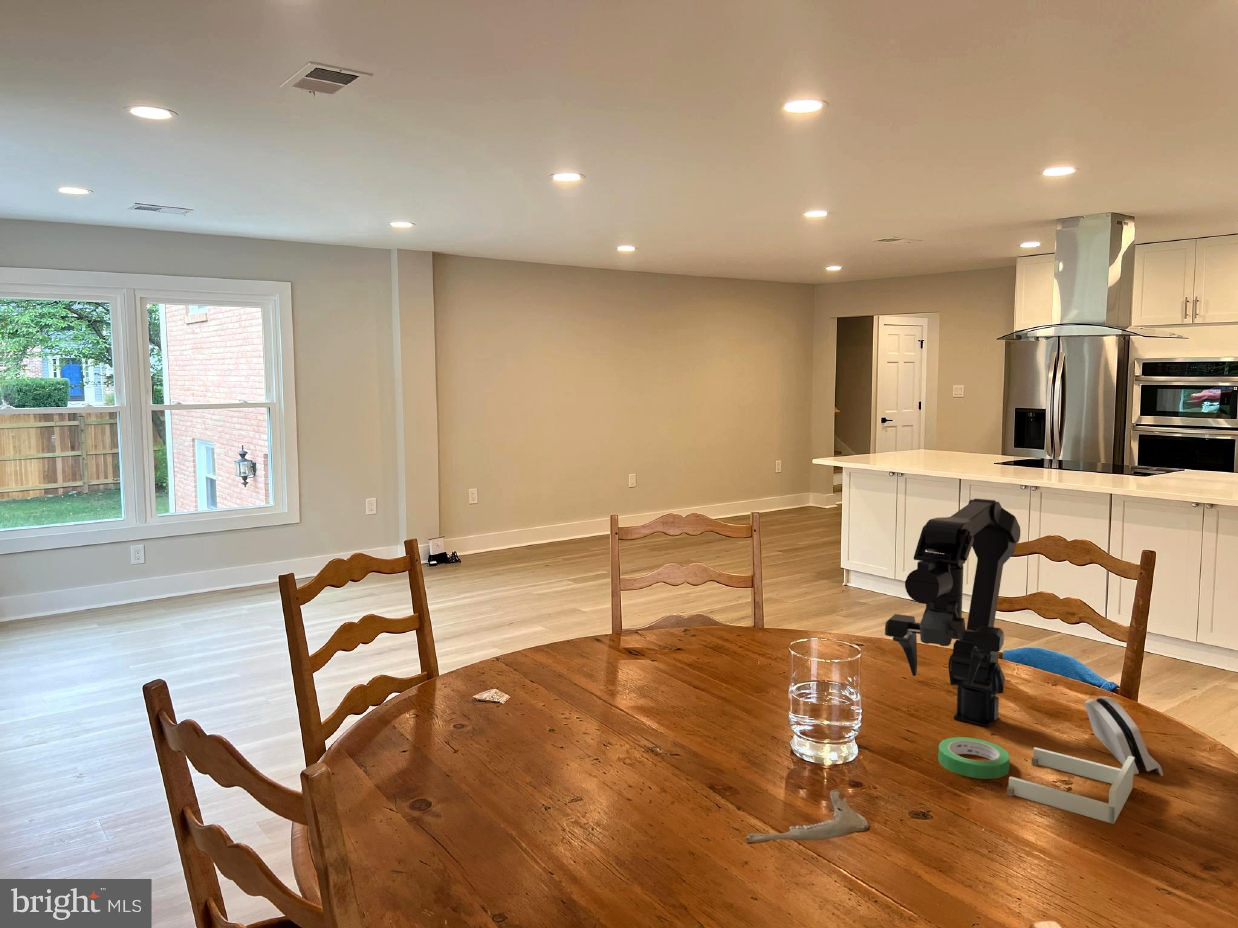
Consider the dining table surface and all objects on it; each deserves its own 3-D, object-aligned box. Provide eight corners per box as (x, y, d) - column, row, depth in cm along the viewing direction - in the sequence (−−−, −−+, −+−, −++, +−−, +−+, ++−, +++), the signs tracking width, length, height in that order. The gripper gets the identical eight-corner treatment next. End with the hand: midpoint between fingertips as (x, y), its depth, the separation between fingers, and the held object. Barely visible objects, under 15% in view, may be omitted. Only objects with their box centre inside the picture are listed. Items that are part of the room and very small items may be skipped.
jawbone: (883, 826, 126) (885, 813, 126) (791, 877, 114) (792, 863, 113) (834, 798, 133) (835, 786, 133) (742, 844, 121) (743, 831, 120)
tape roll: (1005, 756, 148) (1006, 741, 147) (1012, 784, 137) (1013, 768, 137) (937, 747, 151) (937, 733, 151) (939, 774, 141) (939, 759, 141)
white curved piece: (1164, 776, 139) (1145, 719, 139) (1134, 783, 140) (1115, 727, 139) (1123, 734, 155) (1105, 683, 155) (1096, 741, 156) (1078, 690, 156)
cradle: (1006, 795, 133) (1007, 764, 133) (1035, 759, 145) (1036, 731, 145) (1112, 826, 124) (1114, 793, 123) (1133, 785, 136) (1135, 755, 135)
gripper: (877, 595, 145) (875, 684, 147) (996, 610, 135) (992, 705, 137) (894, 582, 155) (891, 666, 156) (1005, 595, 145) (1002, 684, 146)
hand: (941, 680), depth 149 cm, fingers open, 9 cm apart
